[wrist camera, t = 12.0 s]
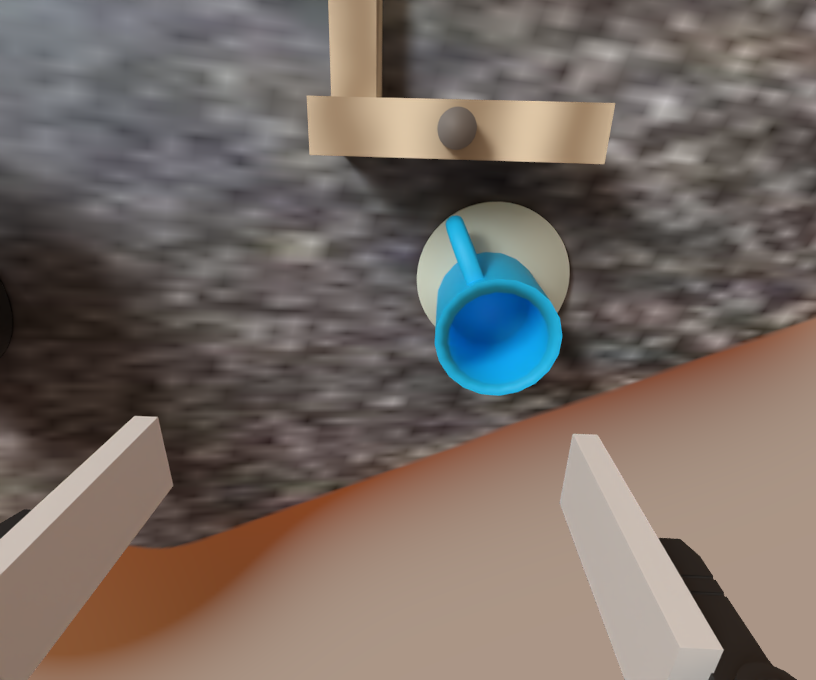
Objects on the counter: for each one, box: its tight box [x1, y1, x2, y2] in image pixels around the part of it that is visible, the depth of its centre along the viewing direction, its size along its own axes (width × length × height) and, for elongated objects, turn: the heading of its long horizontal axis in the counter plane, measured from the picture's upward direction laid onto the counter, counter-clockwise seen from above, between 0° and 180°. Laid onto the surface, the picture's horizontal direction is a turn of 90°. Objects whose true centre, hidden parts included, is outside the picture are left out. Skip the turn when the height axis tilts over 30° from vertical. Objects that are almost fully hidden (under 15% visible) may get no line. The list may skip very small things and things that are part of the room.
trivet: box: [417, 201, 570, 327], centre depth 37 cm, size 12×12×1 cm
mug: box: [435, 215, 562, 396], centre depth 33 cm, size 12×8×8 cm
